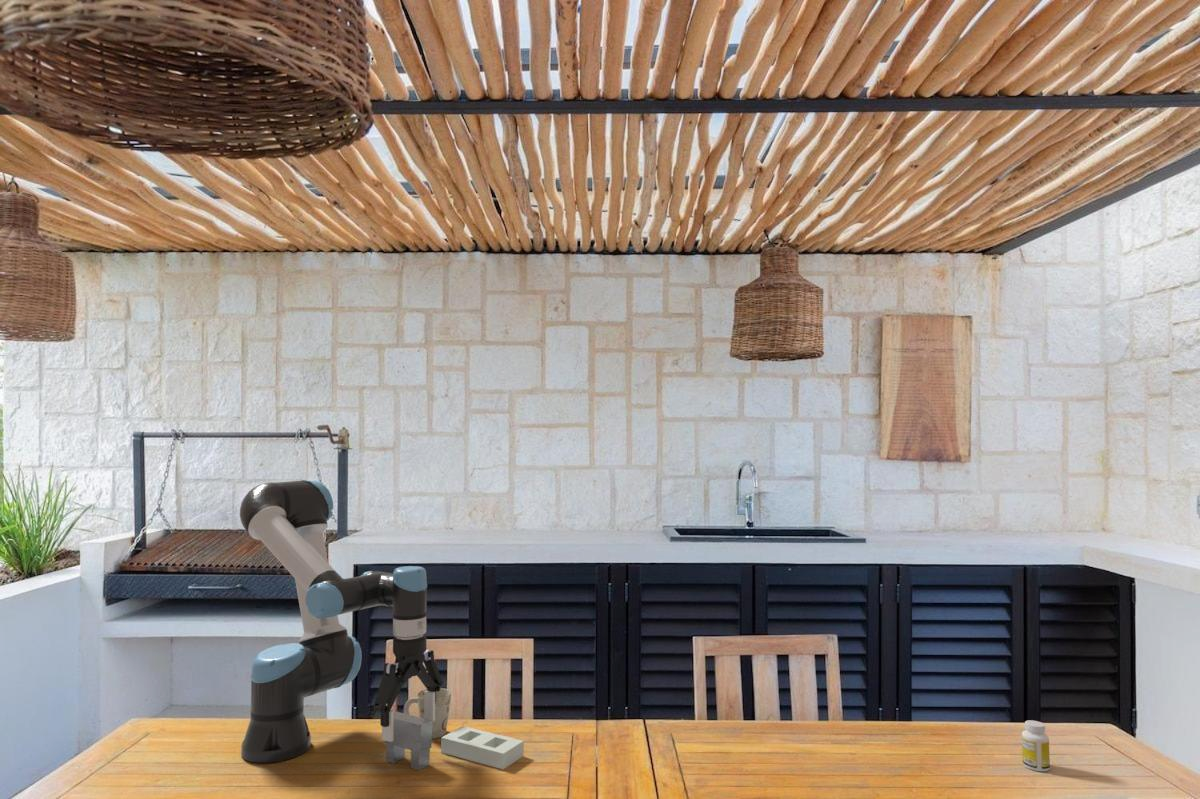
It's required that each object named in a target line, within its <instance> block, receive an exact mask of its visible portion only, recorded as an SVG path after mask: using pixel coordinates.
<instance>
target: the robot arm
mask: <svg viewBox="0 0 1200 799" xmlns="http://www.w3.org/2000/svg"><path fill="white" fill-rule="evenodd" d="M333 510H334V499H333V497H332V494H331V491H330V490H329V489H328V487H327V486H326V485H324V484H323V483H322V482H320V481H317V480H306V479H302V480H294V481H293V480H291V481H280V482H265V483H262V484H261V483H260V484H259V485H256V486H254V487H253V488H251V489H250V491H248V492H247V494H246V495H245V496H244V497H243V499H242V501H241V503H240V508H239V518H240V522H241V525H242V527H243V529H244V530H245V531H246V532H247V534H249V536H250V537H251V538H252V539H254V540H256V541H257V540H258V541H260V542H262V544H264V546H265V547H266V548H267V549H268V551H270V552H271V554H272V555H273V556H274V557H275V558H276V559H277V560H278V562H280V564H281V565H282V566H283V567H284V568H285V570H286V571H287V572H289V574H290V575H292V577H293V578H294V582H295V588H296V592H297V594H296V595H297V599H298V604H299V605H298V606H299V611H300V615H301V622H302V627H303V634H302V636H301V637H300V639H299V640H298V642H299V643H297V642H296V643H293V642H292V643H290V642H289V643H285V644H278V645H273V646H270V647H268V648H266V649H264V650H262V651H260V652H259V653H258V654H257V655H256V656H255V657H254V658H253V661H252V664H251V673H250V686H251V687H250V688H251V689H250V720H249V723H248V725H247V729H246V733H245V736H244V739H243V741H242V742H241V751H240V753H241V755H240V756H241V757H242V759H243V760H245V761H248V762H250V763H255V764H256V763H258V764H267V763H276V762H283V761H287V760H290V759H293V758H296V757H299V756H300V755H302V754H304V753H306V752H307V751H308V750H309V749H310V748H311V740H312V738H311V737H312V736H311V732H310V729H309V725H308V722H307V719H306V716H305V714H304V710H305V708H304V705H305V698H306V697H307V698H308V697H310V696H314V695H317V694H320V693H324V692H327V691H330V690H333V689H338V688H341V687H342V686H343V685H346V684H349V683H351V682H353V680H354V679H355V678H356V676H357V675H358V673H359V671H360V669H361V666H362V649H361V645H360V643H359V641H357V639H356V638H355V636H351V635H349V633H348V630H347V629H348V628H347V627H345V626H344V625H342V624H341V623H340V621H339V616H338V615H344V614H347V613H351V612H356V611H360V610H365V609H369V608H374V607H379V606H383V607H384V606H385V607H389V608H392V610H393V613H392V635H393V636H394V637H393V638H392V653H393V654H394V656H395V661H394V662H393V663H389V662H385V664H384V665H383V666H384V667H383V675H382V678H381V682H380V684H379V687H378V689H377V694H376V697H375V699H374V703H373V706H372V710H373V711H378V712H380V713H379V714H380V723H379V724H380V726H381V741H384V742H385V741H389V742H392V741H393V737H394V710H392V708H393V706H394V704H395V702H396V699H397V698H398V695H399V693H400V692H401V689H402V687H403V685H404V684H406V682H407V680H409V679H411V678H413V677H418V679H419V680H420V681H421V683H422V685H423V686H424V687H425V689H428V691H427V690H426V691H424V719H428V720H432V721H435V704H436V691H437V692H439V691H440V688H441V687H442V686H443V684H444V682H443V679H442V675H441V674H440V671H439V668H438V666H437V663H436V660H435V654H434V650H431V649H427V648H428V647H427V643H428V642H427V640H428V639H427V635H426V633H427V610H428V609H427V606H428V605H427V600H428V598H427V597H428V589H427V588H428V581H427V571H426V568H424V567H423V566H418V565H417V566H416V565H408V566H407V565H406V566H405V565H404V566H399V567H396V568H394V571H393V572H392V573H391V572H385V571H381V570H375V571H374V570H368V571H364V572H363V573H362V574H361V575H359V576H355V577H348V578H343V577H342V576H341V575H340V574H339V573H338V571H336V570H335V569H334V568H333V567H332V565H330V564H329V560H328V556H327V555H328V554H327V549H326V546H325V545H326V544H325V539H324V532H325V531H326V529H327V527H328V521H329V520H331V518H332V514H333Z"/></svg>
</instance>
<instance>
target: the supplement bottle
mask: <svg viewBox="0 0 1200 799" xmlns="http://www.w3.org/2000/svg"><path fill="white" fill-rule="evenodd" d="M1024 728H1025V730H1023V731H1022V732H1021V750H1022V753H1021V754H1022V755H1021V756H1022V765H1023V766H1024V767H1025V768H1026V769H1028V770H1032V771H1035V772H1048V771H1049V770H1050V769H1051V768H1050V767H1051V765H1050V764H1051V762H1050V760H1051V758H1050V739H1049V738H1050V737H1049V736H1048V735H1047V733H1045V732H1046V725H1045V724H1044V722H1041V721H1038V720H1033V719H1031V720H1026V721H1024Z"/></svg>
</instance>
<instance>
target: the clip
mask: <svg viewBox="0 0 1200 799" xmlns="http://www.w3.org/2000/svg"><path fill="white" fill-rule="evenodd" d="M432 739H433V738H432V720H428V719H424V718H420V717H419V716H416V715H413V714H409V715H408V714H404V712H401V711H400V712H399V711H395V712H394V737H393V741H392V742H389V741H385V740H384V744H385V762H388V763H391V764H396V763H397V762H399V761H401V760H403V759H404V758H405V756H406V755H405V750H408V751H410V769H412V770H415V771H421V770H423V769H425V768H427V767H428V766H430V761H431V760H430V759H431V757H430V756H431V755H430V754H431V748H432V744H433V743H432Z"/></svg>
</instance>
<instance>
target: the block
mask: <svg viewBox="0 0 1200 799" xmlns="http://www.w3.org/2000/svg"><path fill="white" fill-rule="evenodd" d="M440 738H441V739H440V740H441V742H440V743H441V745H440V753H441V754H445V755H449V756H452V757H456V758H460V759H463V760H467V761H471V762H474V763H478V764H481V765H485V766H489V767H492V768H497V769H500V770H505V769H506V768H508V767H510V766H511V765H512V764H514V763H515V762H517V761H518V760H520V759H522V758H523V757H524V746H525V744H524V740H521V739H518V738H514V737H510V736H506V735H501V734H496V733H493V732H488V731H485V730H482V729H481V730H480V729H476V728H472V727H468V726H464V725H462V726H460V727H458V728H456V729H455V730H453V731H451V732H449V733H447V734H445V735H444V736H442V737H440Z"/></svg>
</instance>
